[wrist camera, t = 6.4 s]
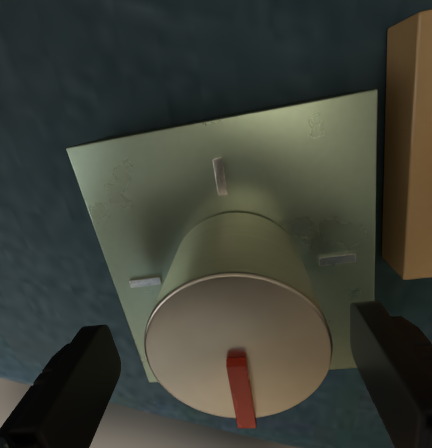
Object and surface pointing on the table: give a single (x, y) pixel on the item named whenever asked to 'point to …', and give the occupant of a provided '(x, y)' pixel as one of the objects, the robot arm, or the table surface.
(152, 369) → the rotary dial knob
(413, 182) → the button block
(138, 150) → the control knob panel
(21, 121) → the table surface
